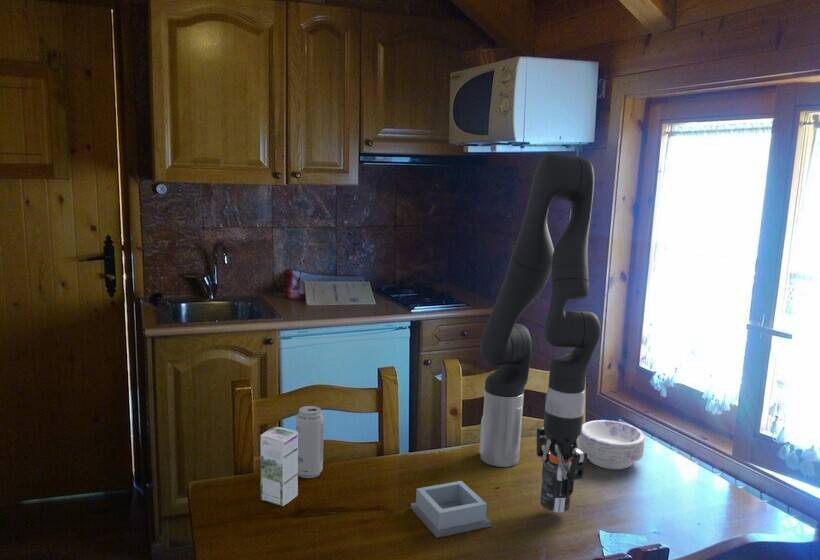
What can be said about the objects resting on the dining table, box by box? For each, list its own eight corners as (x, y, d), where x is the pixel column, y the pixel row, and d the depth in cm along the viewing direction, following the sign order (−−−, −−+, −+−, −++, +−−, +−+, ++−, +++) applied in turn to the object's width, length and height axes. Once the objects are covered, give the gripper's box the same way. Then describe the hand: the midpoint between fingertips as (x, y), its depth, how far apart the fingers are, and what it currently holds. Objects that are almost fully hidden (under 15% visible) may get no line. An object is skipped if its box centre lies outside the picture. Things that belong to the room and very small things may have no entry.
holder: (410, 507, 141) (411, 487, 141) (461, 498, 146) (463, 478, 146) (436, 537, 131) (437, 515, 130) (491, 526, 136) (492, 505, 135)
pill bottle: (569, 515, 137) (575, 462, 135) (539, 510, 139) (544, 458, 137) (569, 501, 143) (574, 450, 141) (540, 496, 144) (545, 446, 142)
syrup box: (298, 495, 145) (299, 430, 142) (282, 507, 139) (283, 440, 137) (276, 489, 147) (276, 424, 144) (259, 501, 142) (259, 434, 139)
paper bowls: (567, 463, 166) (570, 432, 165) (590, 443, 178) (592, 414, 177) (630, 482, 157) (634, 449, 156) (649, 460, 170) (653, 429, 168)
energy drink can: (293, 468, 157) (294, 405, 154) (320, 466, 159) (321, 404, 156) (297, 480, 151) (298, 415, 149) (324, 478, 153) (325, 413, 150)
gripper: (603, 420, 132) (594, 501, 135) (558, 394, 145) (551, 469, 148) (570, 425, 129) (562, 507, 132) (528, 398, 142) (521, 474, 145)
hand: (556, 487), depth 140 cm, fingers closed on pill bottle, 6 cm apart
